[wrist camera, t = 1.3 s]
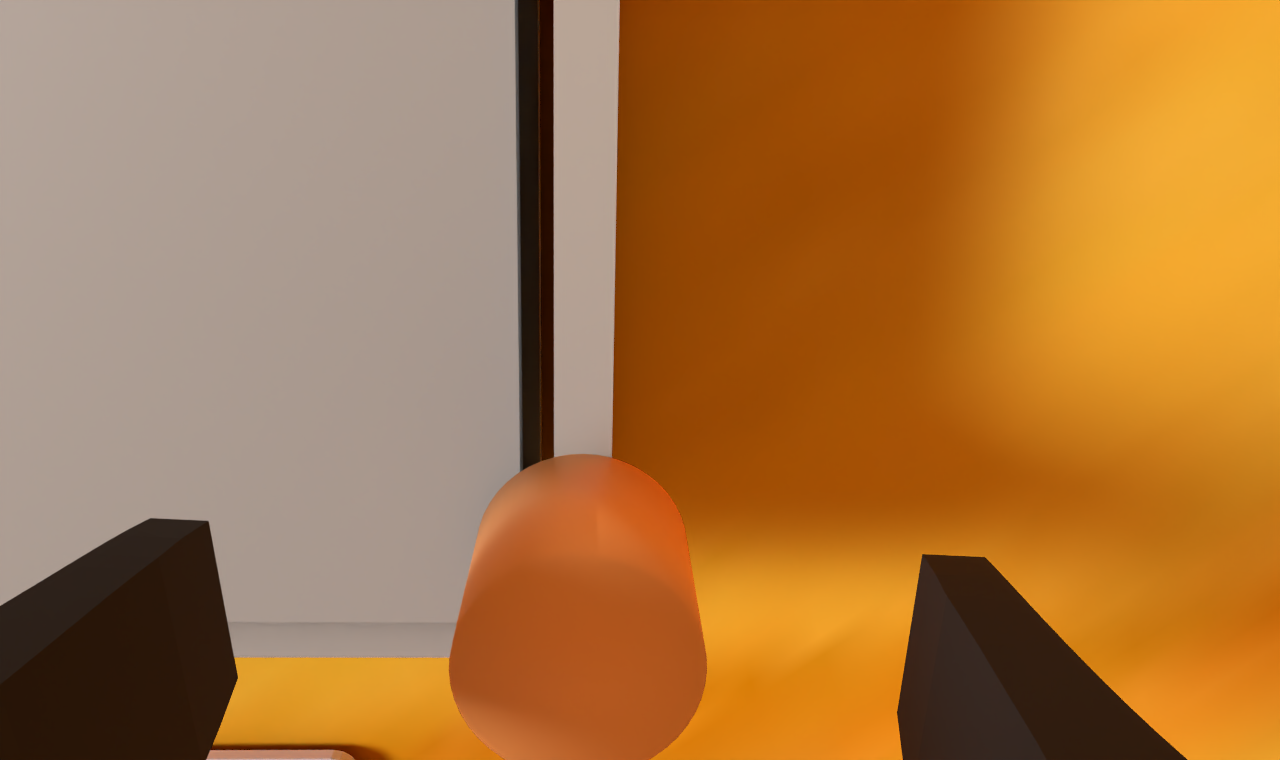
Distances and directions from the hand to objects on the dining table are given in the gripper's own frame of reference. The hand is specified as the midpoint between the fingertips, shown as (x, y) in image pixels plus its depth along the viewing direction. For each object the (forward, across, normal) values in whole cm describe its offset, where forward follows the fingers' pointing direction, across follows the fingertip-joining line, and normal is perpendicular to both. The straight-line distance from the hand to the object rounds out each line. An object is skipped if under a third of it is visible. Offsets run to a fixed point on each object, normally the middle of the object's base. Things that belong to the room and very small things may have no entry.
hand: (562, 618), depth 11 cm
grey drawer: (+11, +1, -3) cm, 11 cm away
